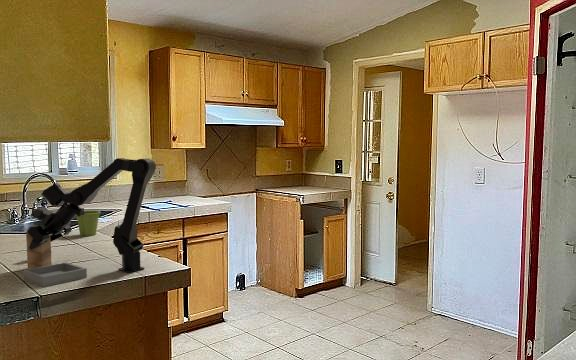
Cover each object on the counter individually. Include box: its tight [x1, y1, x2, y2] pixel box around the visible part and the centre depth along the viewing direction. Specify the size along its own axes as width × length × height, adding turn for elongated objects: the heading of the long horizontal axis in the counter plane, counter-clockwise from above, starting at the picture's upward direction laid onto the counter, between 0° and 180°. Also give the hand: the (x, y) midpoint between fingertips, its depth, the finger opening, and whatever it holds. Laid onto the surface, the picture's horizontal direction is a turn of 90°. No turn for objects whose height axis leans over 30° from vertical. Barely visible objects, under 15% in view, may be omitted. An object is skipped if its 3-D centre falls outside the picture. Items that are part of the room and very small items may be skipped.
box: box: [23, 261, 88, 288], centre depth 161 cm, size 14×14×3 cm
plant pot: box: [75, 210, 101, 237], centre depth 240 cm, size 12×12×11 cm
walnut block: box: [25, 231, 53, 269], centre depth 174 cm, size 6×6×13 cm
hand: (35, 246), depth 175 cm, fingers closed on walnut block, 5 cm apart
